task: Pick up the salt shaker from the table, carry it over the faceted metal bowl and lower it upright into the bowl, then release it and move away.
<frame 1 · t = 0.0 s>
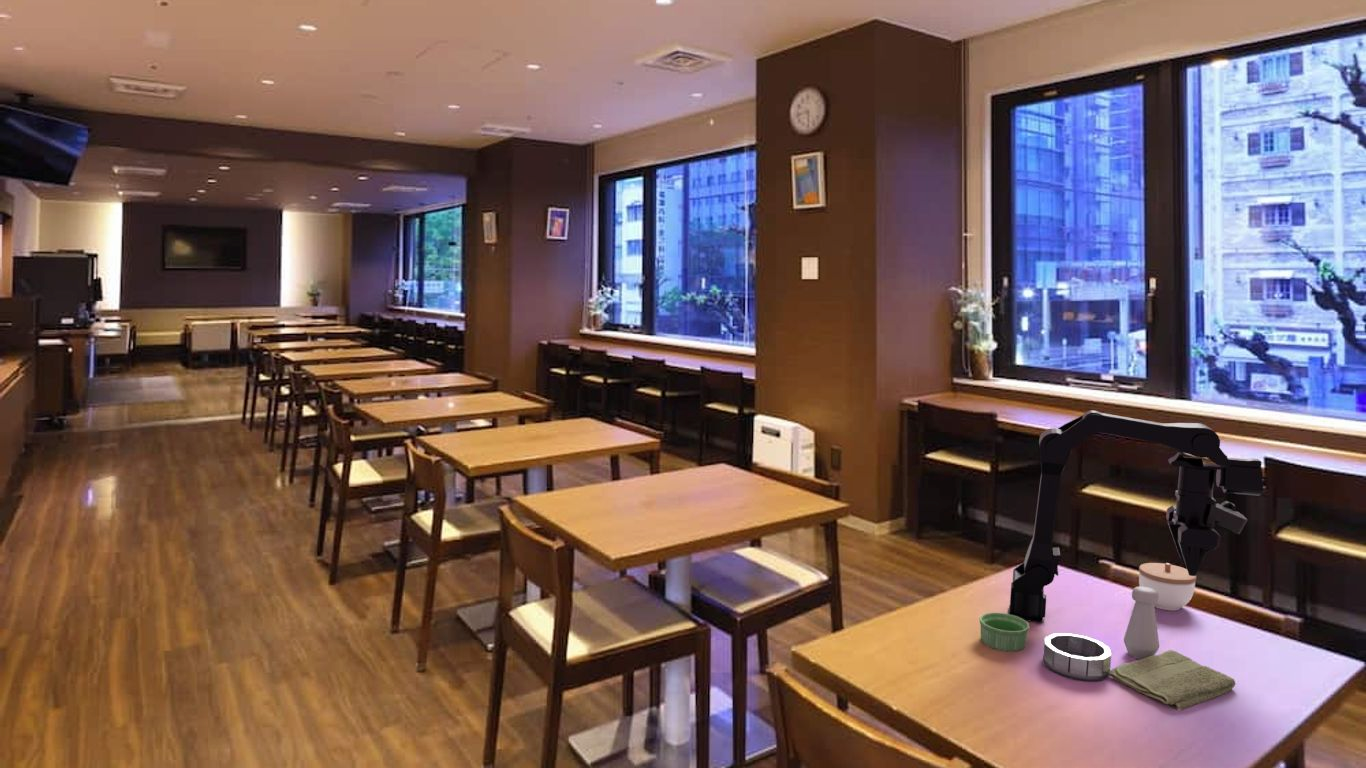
hand: (1187, 567, 158), 15 cm above the table, tool pointing down, fingers open, 9 cm apart
lidded jar: (1164, 606, 178), on the table
faceted metal bowl: (1075, 667, 148), on the table
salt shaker: (1140, 656, 153), on the table
ramekin: (1002, 644, 158), on the table
washcloth: (1171, 688, 142), on the table
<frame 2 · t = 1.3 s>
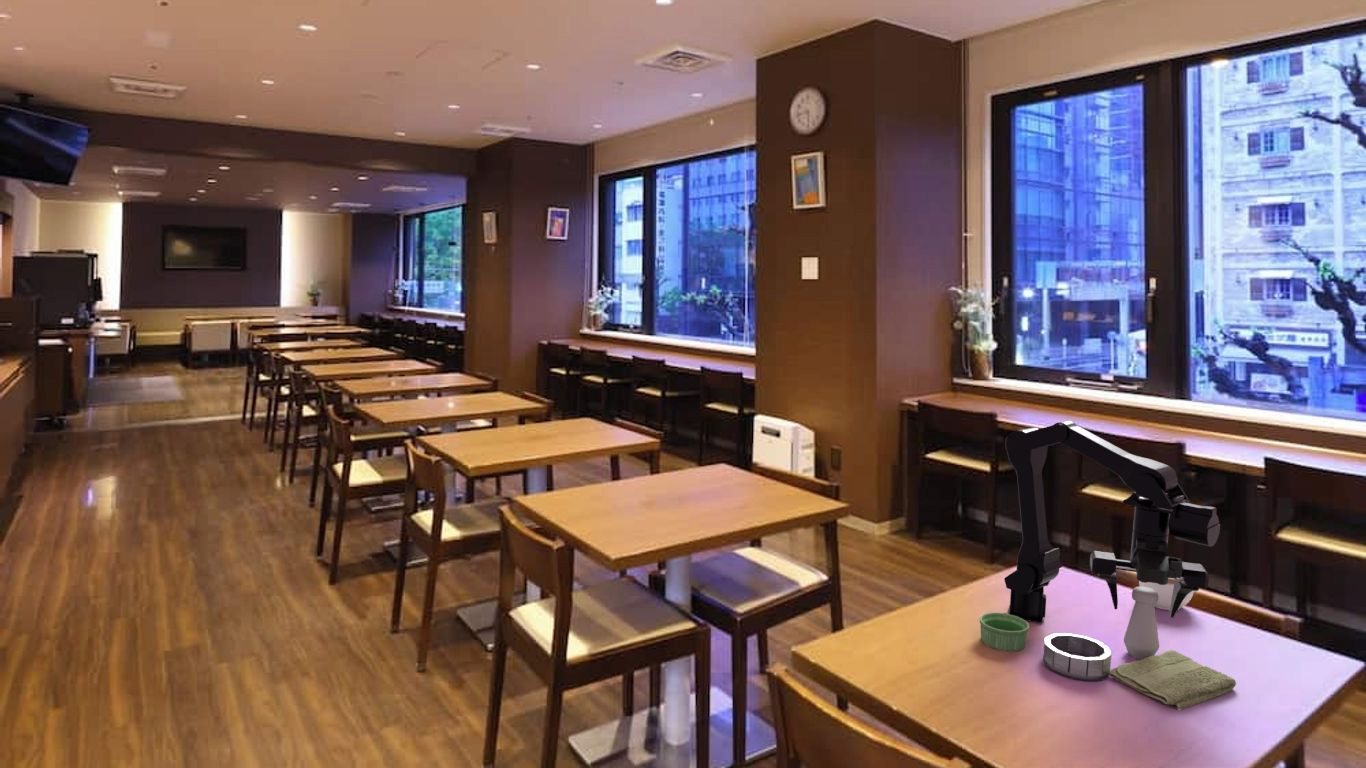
hand: (1143, 612, 152), 8 cm above the table, tool pointing down, fingers open, 9 cm apart
nothing on the table moved.
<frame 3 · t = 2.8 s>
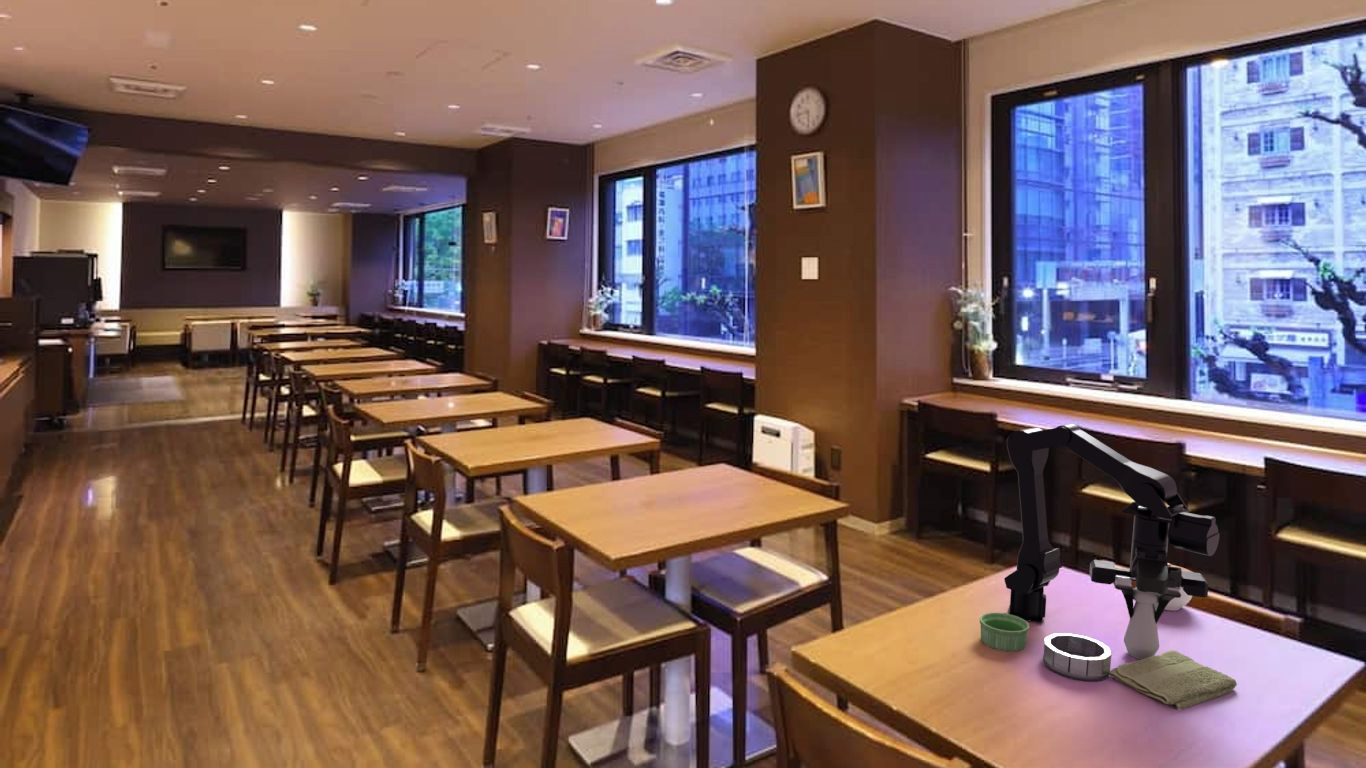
hand: (1142, 621, 152), 7 cm above the table, tool pointing down, fingers closed on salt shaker, 3 cm apart
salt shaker: (1140, 656, 153), on the table, touching gripper
everything else where it was.
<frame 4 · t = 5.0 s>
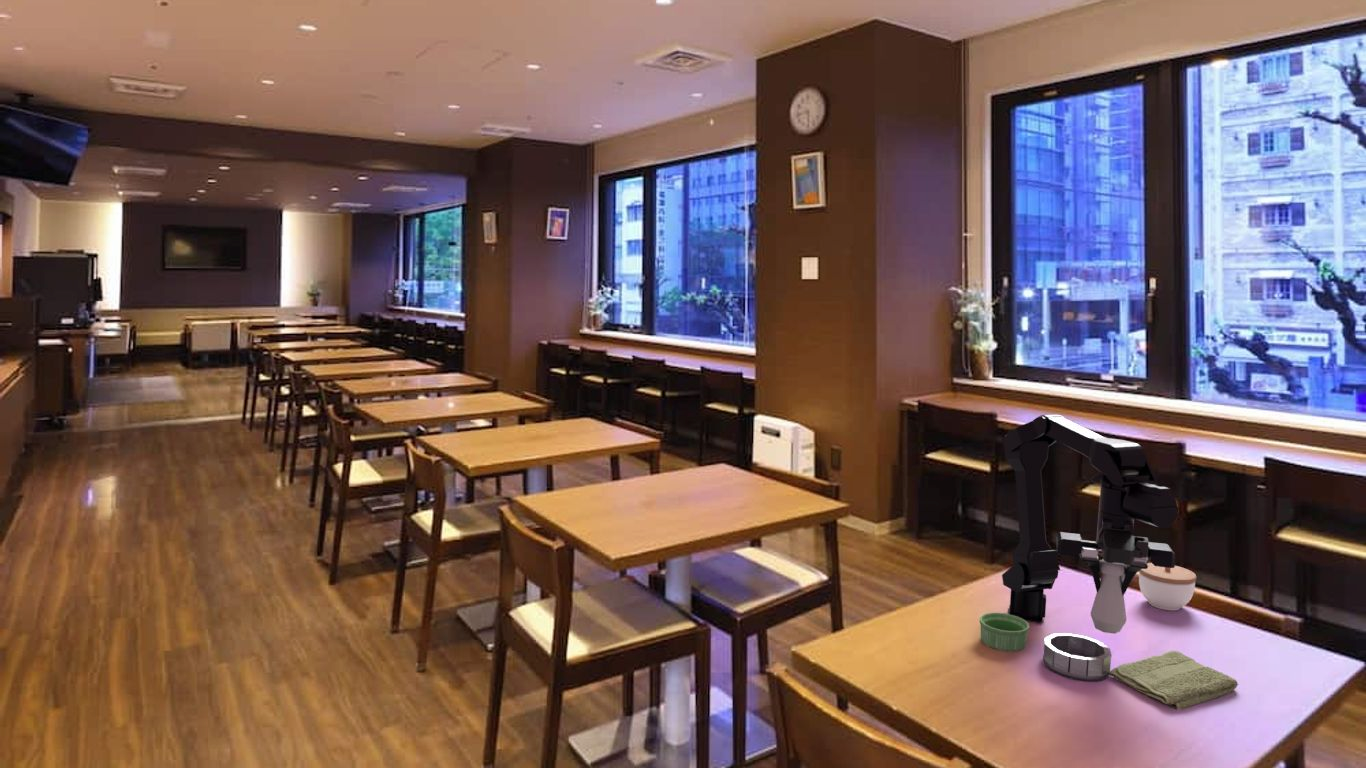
hand: (1109, 594, 149), 13 cm above the table, tool pointing down, fingers closed on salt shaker, 3 cm apart
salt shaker: (1107, 629, 149), point 6 cm above the table, touching gripper
everything else where it was.
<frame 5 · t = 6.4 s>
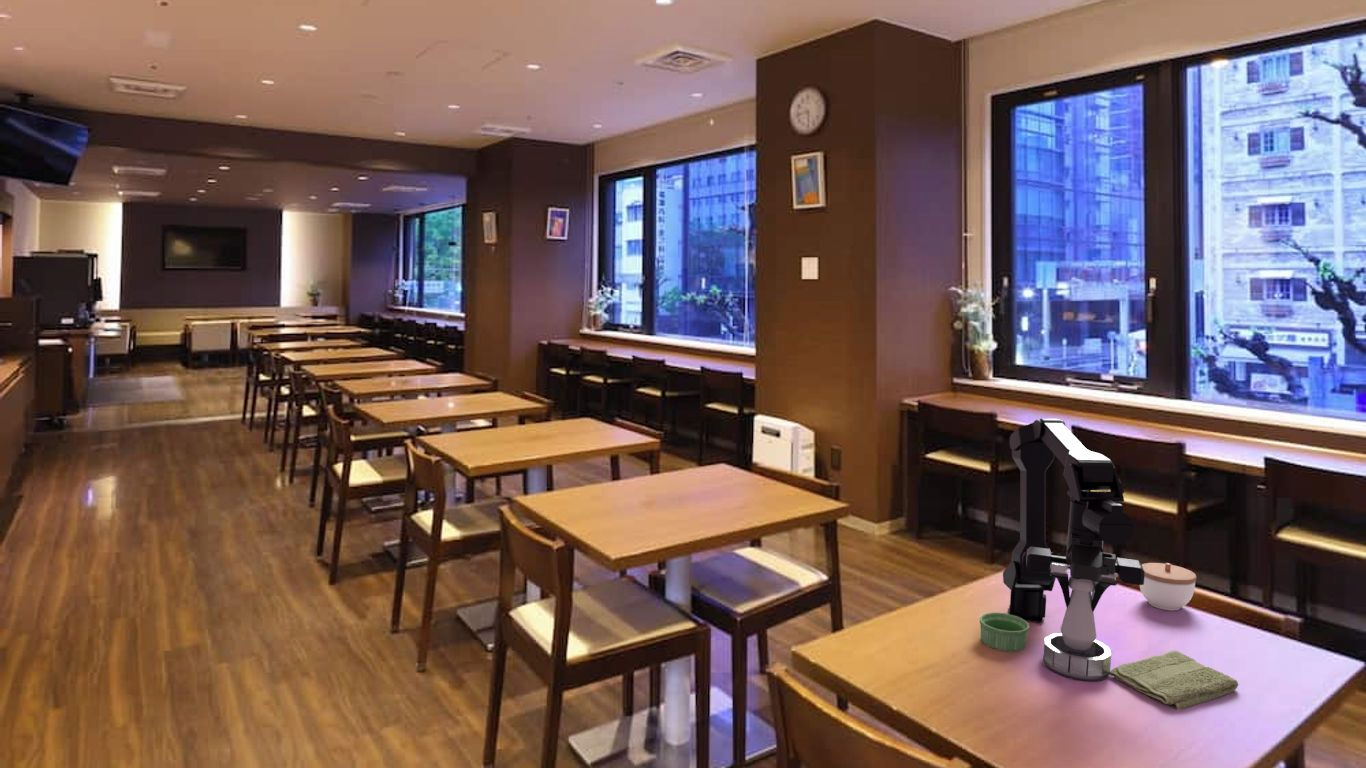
hand: (1079, 610, 147), 11 cm above the table, tool pointing down, fingers closed on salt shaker, 3 cm apart
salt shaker: (1077, 646, 148), point 4 cm above the table, touching gripper
everything else where it was.
when the fingers open (9 cm above the table, at t = 7.4 s): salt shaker drops 1 cm, resting on faceted metal bowl.
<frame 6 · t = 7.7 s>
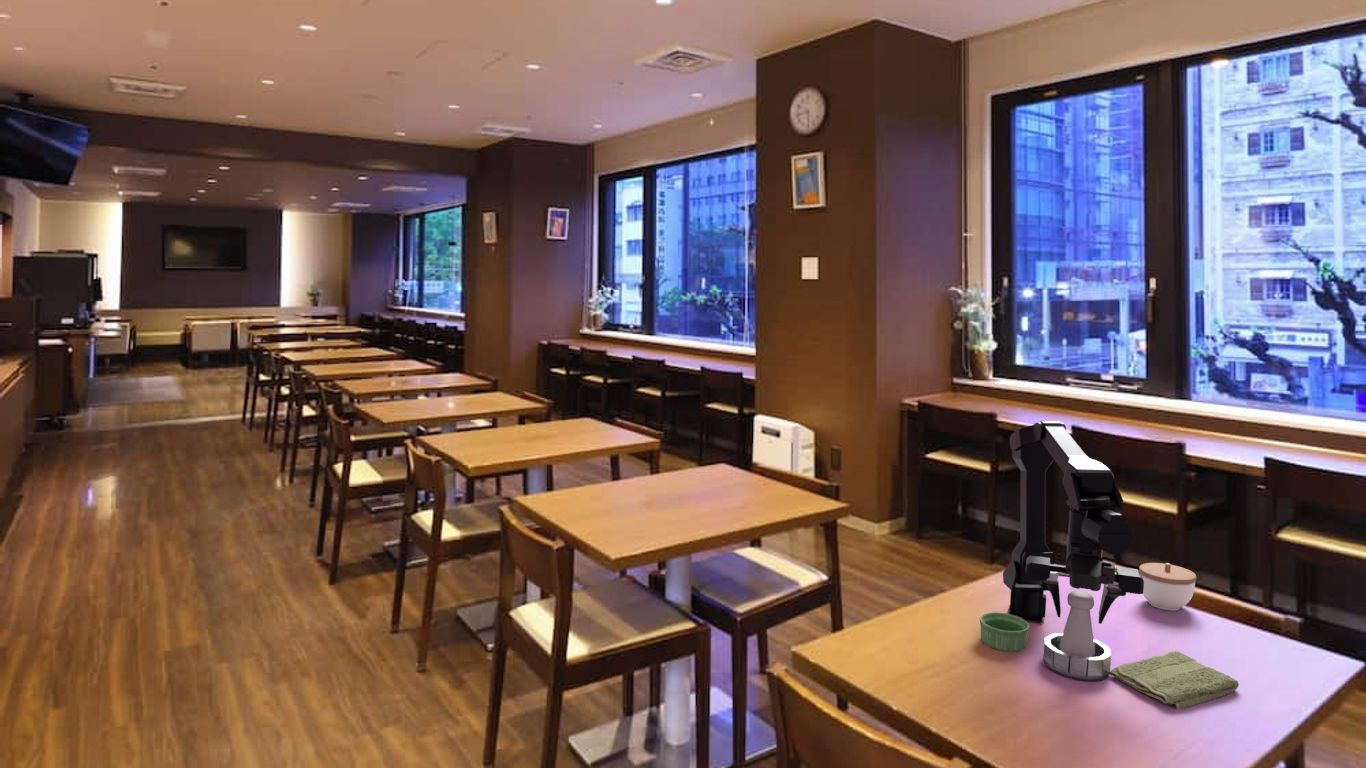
hand: (1079, 619, 147), 9 cm above the table, tool pointing down, fingers open, 6 cm apart
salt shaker: (1076, 662, 148), point 1 cm above the table, touching faceted metal bowl
everything else where it was.
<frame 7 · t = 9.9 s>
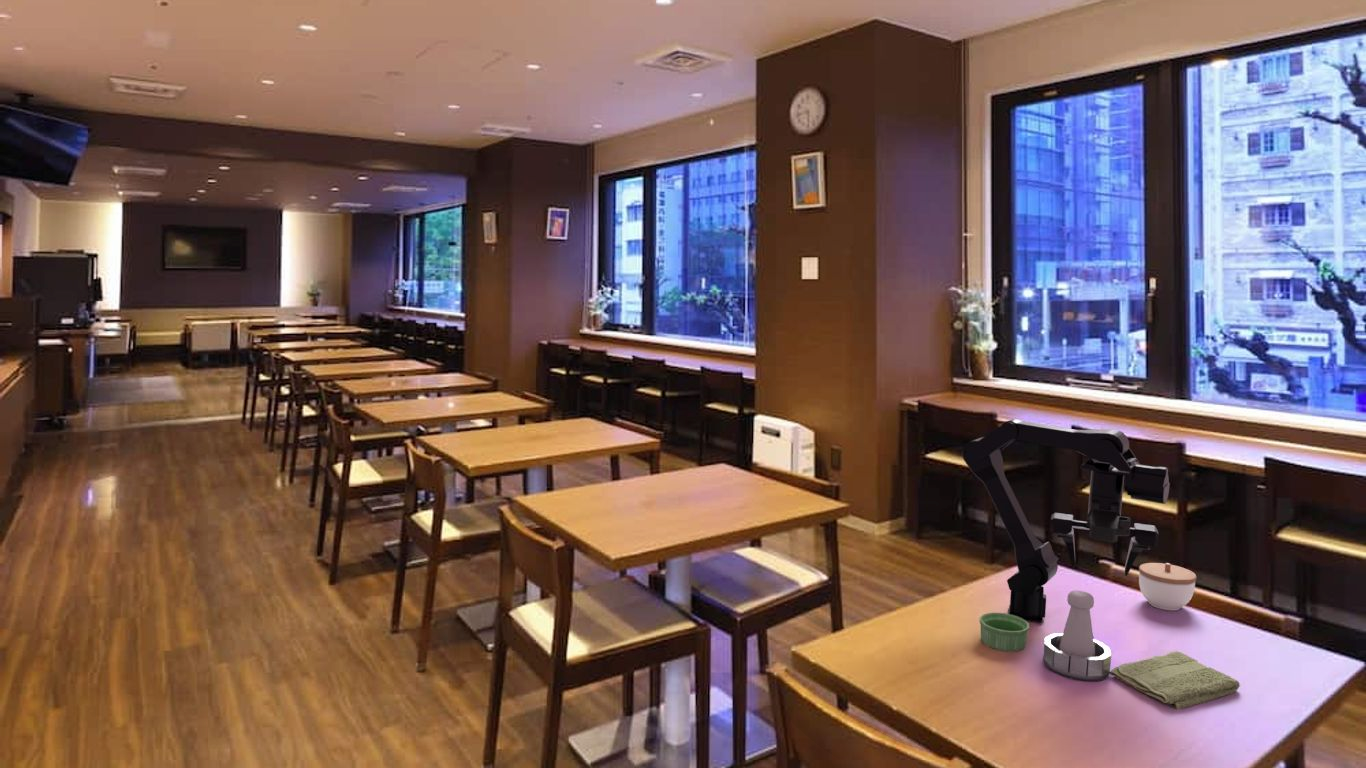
hand: (1099, 571, 161), 13 cm above the table, tool pointing down, fingers open, 9 cm apart
nothing on the table moved.
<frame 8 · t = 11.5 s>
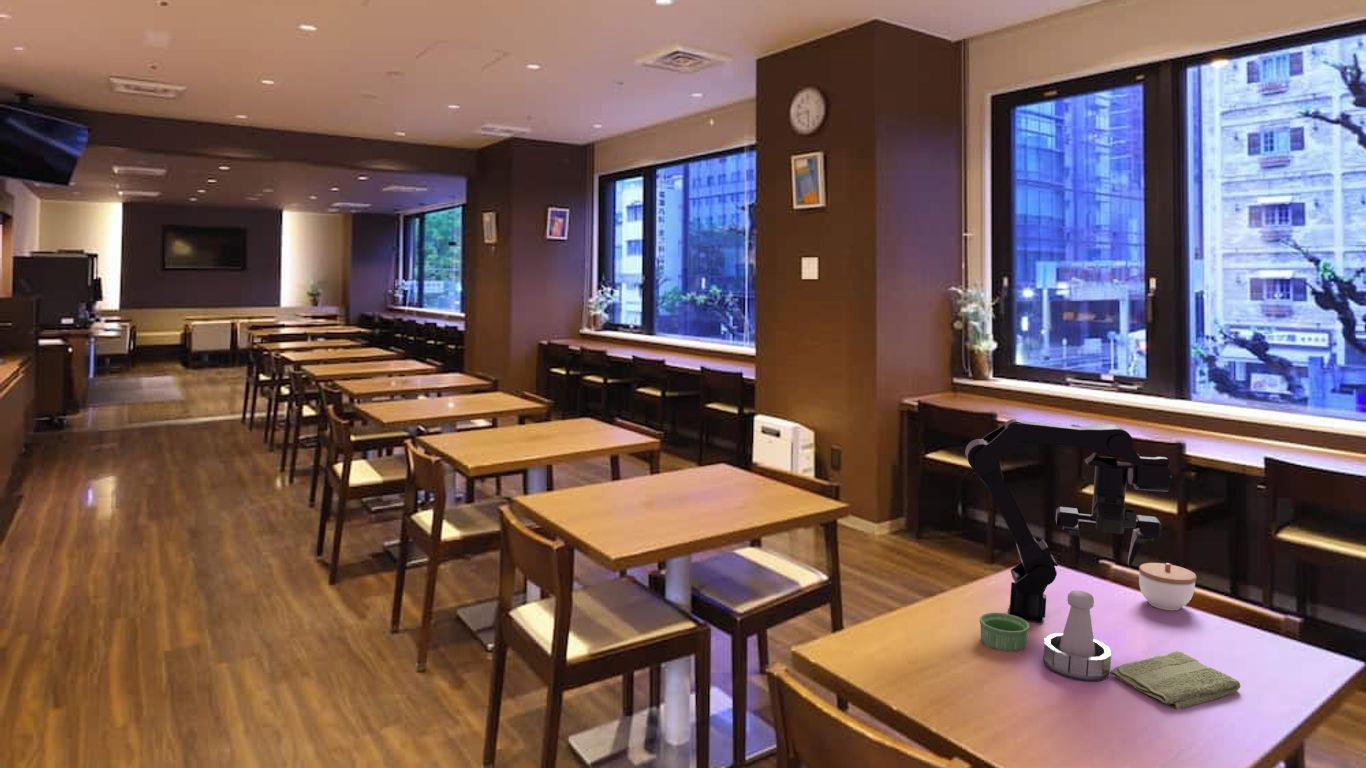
hand: (1103, 562, 166), 13 cm above the table, tool pointing down, fingers open, 9 cm apart
nothing on the table moved.
at the end: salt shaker 0.0 cm off-centre on the faceted metal bowl, point 0.8 cm above the faceted metal bowl's base; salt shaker tilted 0°; the gripper is holding nothing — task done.
